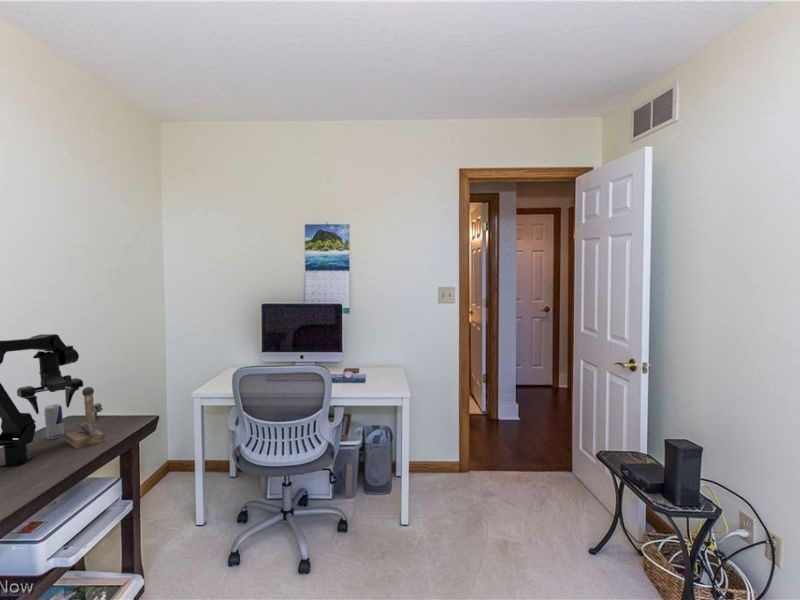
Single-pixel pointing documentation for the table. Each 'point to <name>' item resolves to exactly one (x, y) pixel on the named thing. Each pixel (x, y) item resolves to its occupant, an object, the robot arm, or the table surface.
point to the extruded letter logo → (97, 409)
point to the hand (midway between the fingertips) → (52, 410)
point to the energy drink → (54, 421)
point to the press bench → (84, 436)
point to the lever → (89, 406)
